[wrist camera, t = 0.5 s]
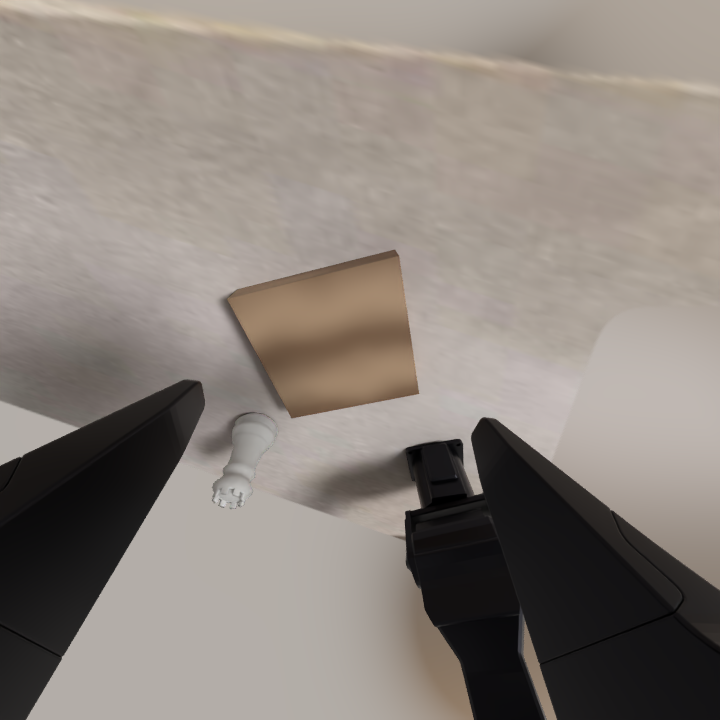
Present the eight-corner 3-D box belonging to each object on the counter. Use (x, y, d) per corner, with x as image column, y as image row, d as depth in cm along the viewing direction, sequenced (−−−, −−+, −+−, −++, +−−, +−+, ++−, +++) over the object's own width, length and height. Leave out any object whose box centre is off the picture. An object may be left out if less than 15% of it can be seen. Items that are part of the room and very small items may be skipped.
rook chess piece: (279, 441, 29) (258, 516, 23) (238, 437, 29) (203, 513, 22) (279, 412, 27) (255, 487, 20) (233, 408, 26) (194, 483, 20)
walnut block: (413, 376, 25) (419, 393, 23) (296, 400, 27) (291, 418, 25) (393, 248, 19) (398, 255, 17) (239, 287, 20) (227, 298, 18)
